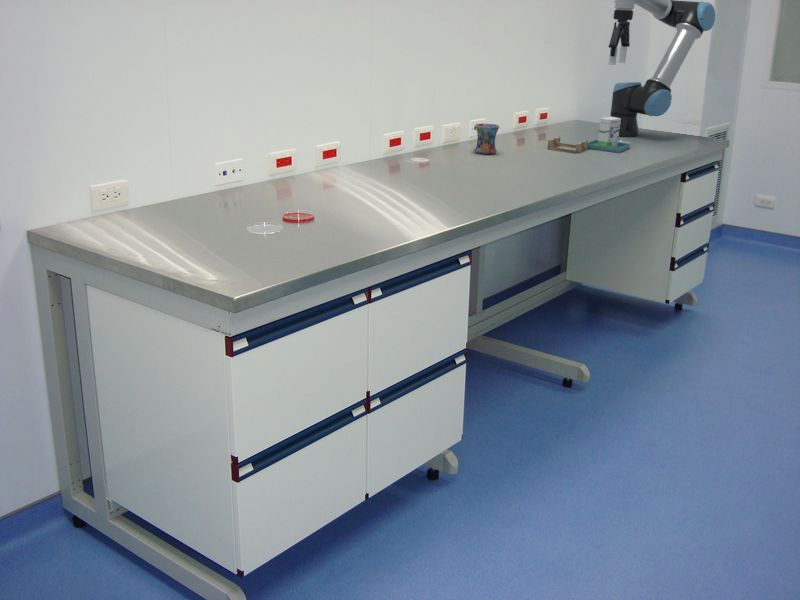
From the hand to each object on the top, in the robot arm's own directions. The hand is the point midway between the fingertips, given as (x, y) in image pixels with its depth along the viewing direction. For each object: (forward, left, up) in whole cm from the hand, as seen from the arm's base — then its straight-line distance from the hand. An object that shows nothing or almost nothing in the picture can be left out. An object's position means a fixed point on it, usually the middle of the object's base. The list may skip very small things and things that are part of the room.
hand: (616, 63), depth 349 cm
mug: (+57, -30, -33) cm, 72 cm away
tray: (+13, +4, -33) cm, 35 cm away
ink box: (+13, +4, -32) cm, 35 cm away
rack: (+27, -8, -33) cm, 43 cm away
